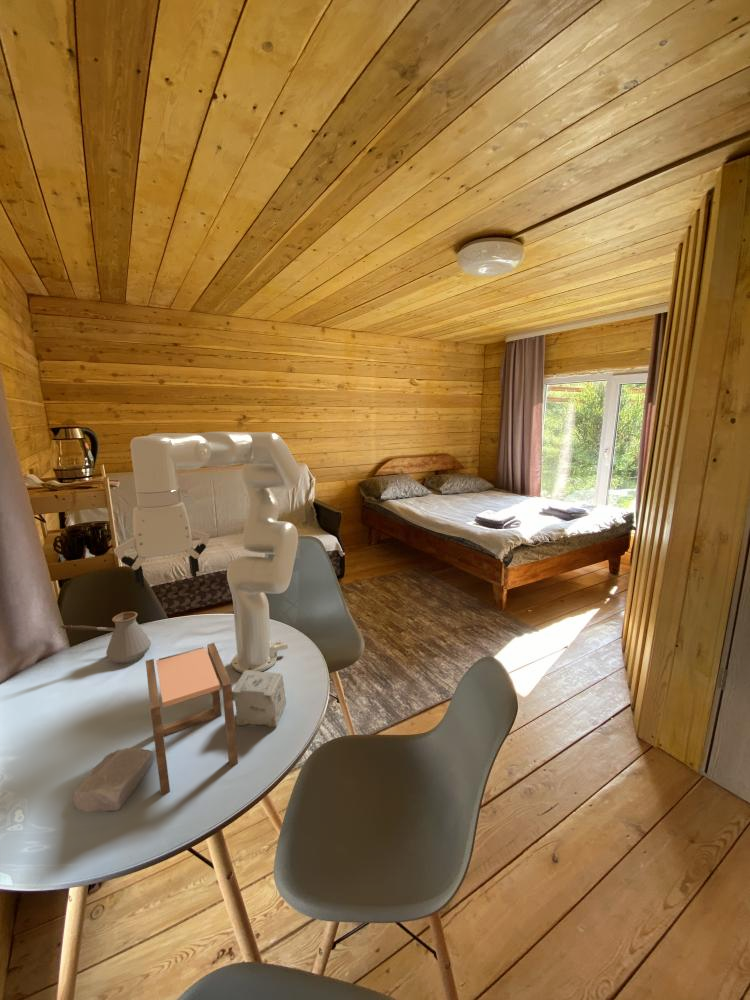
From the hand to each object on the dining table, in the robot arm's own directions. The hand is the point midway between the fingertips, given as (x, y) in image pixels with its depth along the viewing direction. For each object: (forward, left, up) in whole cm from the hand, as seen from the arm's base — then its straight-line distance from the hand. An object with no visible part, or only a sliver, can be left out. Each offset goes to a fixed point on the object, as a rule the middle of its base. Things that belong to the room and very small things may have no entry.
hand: (168, 580), depth 85 cm
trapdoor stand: (-1, +5, -36) cm, 37 cm away
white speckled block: (-16, +3, -37) cm, 40 cm away
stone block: (+13, +6, -37) cm, 40 cm away
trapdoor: (-1, +4, -21) cm, 21 cm away
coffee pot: (+15, -43, -37) cm, 59 cm away
